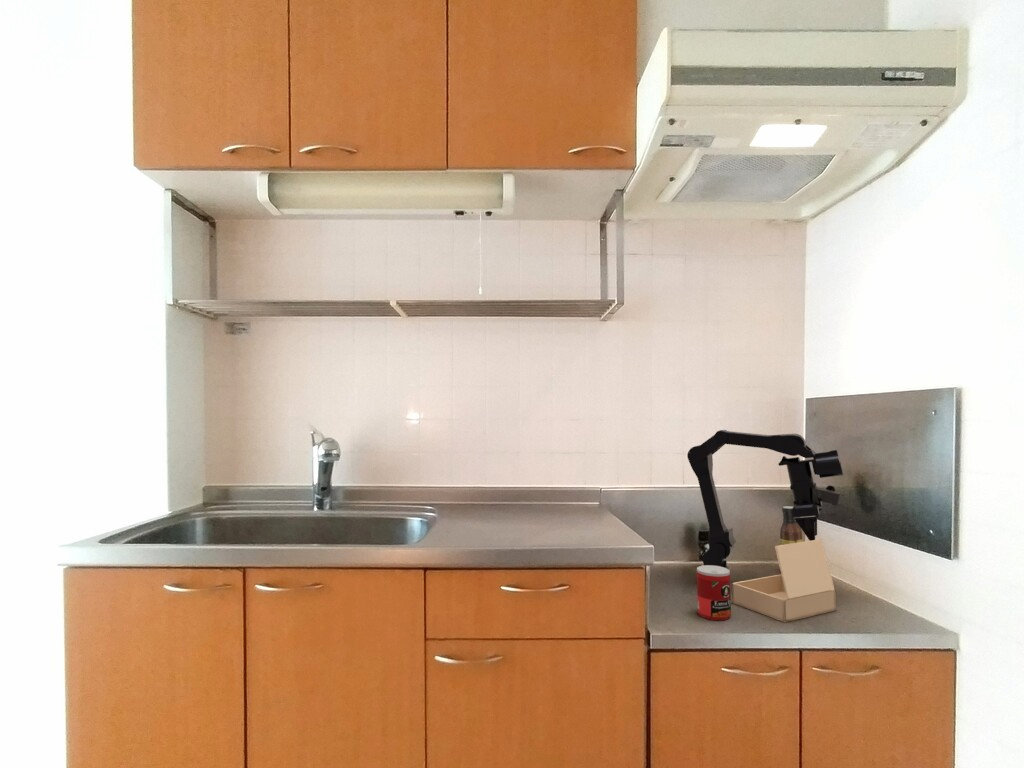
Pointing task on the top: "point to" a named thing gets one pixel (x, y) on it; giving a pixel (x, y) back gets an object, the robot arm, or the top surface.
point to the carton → (780, 599)
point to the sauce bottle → (789, 528)
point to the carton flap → (804, 568)
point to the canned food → (713, 592)
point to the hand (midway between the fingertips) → (814, 538)
